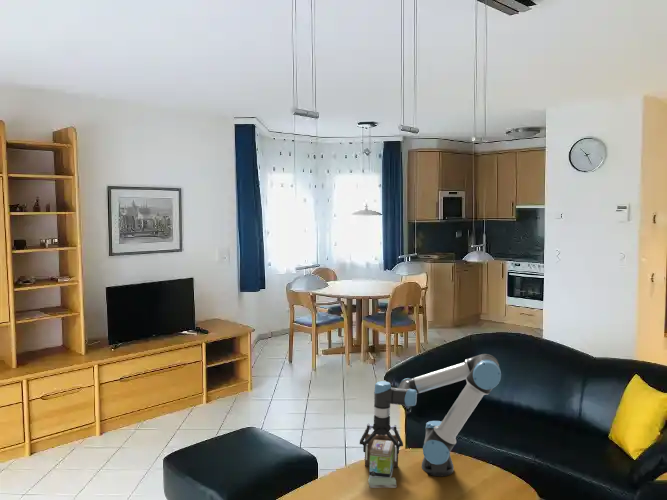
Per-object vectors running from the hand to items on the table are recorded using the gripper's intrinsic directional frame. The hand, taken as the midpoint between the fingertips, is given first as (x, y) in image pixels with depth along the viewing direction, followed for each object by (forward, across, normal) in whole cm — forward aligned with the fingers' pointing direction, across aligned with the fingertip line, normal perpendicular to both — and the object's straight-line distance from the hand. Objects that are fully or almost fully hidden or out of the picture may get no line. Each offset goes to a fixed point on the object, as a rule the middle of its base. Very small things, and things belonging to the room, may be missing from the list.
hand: (380, 459), depth 260 cm
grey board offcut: (+8, -1, +11) cm, 13 cm away
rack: (+8, 0, -9) cm, 12 cm away
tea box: (+8, 0, 0) cm, 8 cm away
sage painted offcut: (+6, -1, +11) cm, 12 cm away
